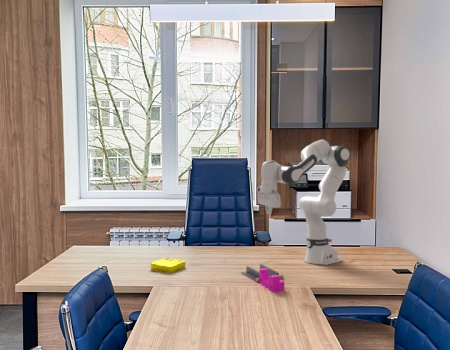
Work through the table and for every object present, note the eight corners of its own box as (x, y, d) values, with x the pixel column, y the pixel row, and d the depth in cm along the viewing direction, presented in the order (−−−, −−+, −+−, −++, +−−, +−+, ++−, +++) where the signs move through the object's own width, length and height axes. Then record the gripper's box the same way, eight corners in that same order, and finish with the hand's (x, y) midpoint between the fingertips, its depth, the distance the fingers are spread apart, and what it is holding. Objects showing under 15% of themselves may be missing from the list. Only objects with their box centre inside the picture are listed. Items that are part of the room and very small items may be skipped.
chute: (266, 269, 263) (266, 263, 263) (283, 278, 247) (283, 272, 246) (241, 273, 256) (241, 267, 256) (257, 282, 240) (257, 275, 240)
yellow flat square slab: (149, 270, 264) (149, 262, 263) (166, 264, 277) (166, 256, 276) (170, 274, 256) (170, 265, 256) (186, 267, 269) (186, 259, 268)
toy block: (284, 290, 227) (284, 275, 227) (272, 292, 225) (272, 277, 225) (270, 282, 241) (270, 267, 241) (259, 283, 239) (259, 269, 239)
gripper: (283, 190, 255) (283, 216, 256) (265, 187, 274) (264, 210, 275) (273, 191, 253) (273, 216, 254) (255, 187, 271) (255, 211, 272)
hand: (268, 213), depth 264 cm, fingers closed
